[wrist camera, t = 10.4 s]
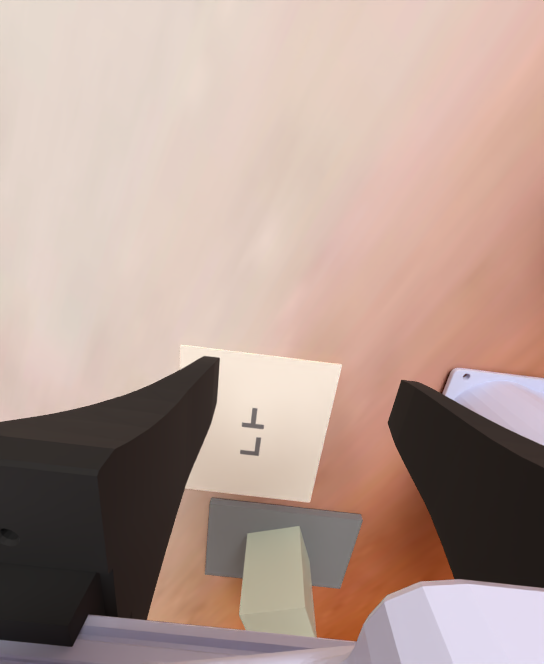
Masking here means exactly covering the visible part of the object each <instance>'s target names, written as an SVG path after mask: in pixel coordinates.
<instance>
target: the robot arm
mask: <svg viewBox="0 0 544 664" xmlns="http://www.w3.org/2000/svg"><path fill="white" fill-rule="evenodd" d="M219 365H220V358H218V357H210V356H203V357H201V358H199V359H197V360H196V361H194V362H192V363H191V364H189V365H187V366H186V367H184V368H182V369H180V370H179V371H177V372H175V373H173V374H171V375H169V376H167V377H165V378H163V379H161V380H159V381H157V382H155V383H153V384H151V385H149V386H147V387H144V388H142V389H139V390H137V391H134V392H132V393H129V394H126V395H123V396H120V397H117V398H114V399H110V400H107V401H104V402H100V403H97V404H94V405H90V406H86V407H82V408H77V409H73V410H68V411H64V412H59V413H54V414H49V415H43V416H37V417H30V418H24V419H17V420H10V421H4V422H0V664H544V378H538V377H530V376H522V375H514V374H506V373H498V372H490V371H482V370H474V369H466V368H455V369H453V370H452V371H451V373H450V375H449V378H448V380H447V383H446V385H445V388H444V391H443V393H442V394H441V393H439V392H438V391H436V390H434V389H432V388H430V387H428V386H426V385H424V384H421V383H419V382H415V381H406V380H401V383H400V386H399V389H398V392H397V396H396V399H395V402H394V405H393V408H392V411H391V414H390V417H389V421H388V425H389V428H390V431H391V434H392V437H393V440H394V443H395V446H396V448H397V450H398V452H399V454H400V456H401V458H402V460H403V462H404V464H405V466H406V468H407V469H408V471H409V473H410V475H411V477H412V479H413V481H414V483H415V485H416V487H417V489H418V491H419V493H420V495H421V496H422V498H423V500H424V502H425V505H426V507H427V509H428V511H429V513H430V515H431V518H432V520H433V523H434V525H435V528H436V530H437V533H438V535H439V538H440V540H441V543H442V546H443V548H444V551H445V554H446V557H447V559H448V562H449V565H450V568H451V570H452V573H453V576H454V578H455V579H454V580H438V581H421V582H418V583H416V584H413V585H411V586H408V587H406V588H403V589H401V590H398V591H396V592H394V593H391V594H389V595H387V596H386V597H385V598H384V599H383V600H382V601H381V602H380V603H379V605H378V606H377V607H376V608H375V609H374V610H373V611H372V612H371V613H370V615H369V616H368V618H367V619H366V621H365V623H364V624H363V627H362V629H361V632H360V634H359V637H358V639H357V642H356V641H346V640H336V639H327V638H317V637H307V636H297V635H287V634H277V633H267V632H257V631H248V630H238V629H228V628H218V627H208V626H198V625H188V624H179V623H169V622H159V621H149V620H147V616H148V613H149V609H150V605H151V602H152V598H153V594H154V591H155V587H156V584H157V580H158V577H159V573H160V570H161V566H162V563H163V559H164V555H165V552H166V548H167V545H168V542H169V538H170V535H171V532H172V528H173V525H174V522H175V518H176V515H177V512H178V508H179V505H180V502H181V499H182V496H183V492H184V489H185V486H186V483H187V481H188V478H189V475H190V473H191V471H192V468H193V466H194V463H195V461H196V459H197V456H198V454H199V452H200V449H201V447H202V445H203V442H204V440H205V437H206V435H207V433H208V430H209V428H210V425H211V422H212V419H213V415H214V412H215V408H216V404H217V395H218V380H219ZM465 374H467V375H466V376H465V377H463V376H464V375H465Z"/></svg>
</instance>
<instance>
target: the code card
mask: <svg viewBox="0 0 544 664" xmlns="http://www.w3.org/2000/svg"><path fill="white" fill-rule="evenodd" d="M203 356H210V357H218V358H220V365H219V380H218V395H217V404H216V408H215V412H214V415H213V419H212V422H211V425H210V428H209V430H208V433H207V435H206V437H205V440H204V442H203V445H202V447H201V449H200V452H199V454H198V456H197V459H196V461H195V463H194V466H193V468H192V471H191V473H190V475H189V478H188V481H187V483H186V486H185V489H193V490H201V491H210V492H219V493H228V494H237V495H246V496H255V497H264V498H273V499H282V500H291V501H300V502H309V503H310V500H311V496H312V491H313V487H314V483H315V479H316V474H317V470H318V466H319V461H320V457H321V453H322V449H323V444H324V440H325V436H326V432H327V427H328V423H329V419H330V414H331V410H332V406H333V402H334V397H335V393H336V389H337V385H338V380H339V376H340V372H341V367H342V365H341V364H335V363H327V362H319V361H311V360H302V359H294V358H286V357H278V356H270V355H262V354H254V353H245V352H237V351H229V350H221V349H213V348H205V347H197V346H189V345H180V369H182V368H184V367H186V366H187V365H189V364H191V363H192V362H194V361H196V360H197V359H199V358H201V357H203Z"/></svg>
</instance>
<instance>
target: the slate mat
mask: <svg viewBox="0 0 544 664" xmlns="http://www.w3.org/2000/svg"><path fill="white" fill-rule="evenodd" d="M362 521H363V520H362V517H361V514H353V513H344V512H335V511H326V510H317V509H308V508H299V507H290V506H281V505H272V504H263V503H254V502H245V501H236V500H227V499H218V498H211V501H210V507H209V522H208V537H207V552H206V567H205V574H206V575H215V576H225V577H234V578H243V571H244V562H245V552H246V542H247V533H254V532H261V531H268V530H275V529H282V528H288V527H295V526H300V530H301V533H302V537H303V540H304V544H305V547H306V551H307V554H308V558H309V561H310V572H311V583H312V586H319V587H329V588H338V589H340V587H341V584H342V581H343V578H344V575H345V572H346V569H347V566H348V563H349V560H350V557H351V554H352V551H353V548H354V545H355V542H356V539H357V536H358V533H359V530H360V527H361V524H362Z"/></svg>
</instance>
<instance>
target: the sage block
mask: <svg viewBox="0 0 544 664" xmlns="http://www.w3.org/2000/svg"><path fill="white" fill-rule="evenodd" d="M239 616H240V618H241V620H242V623H243V625H244V627H245V629H246V630H248V631H257V632H267V633H277V634H287V635H297V636H307V637H317V636H316V626H315V615H314V604H313V594H312V583H311V572H310V561H309V558H308V554H307V551H306V547H305V544H304V540H303V537H302V533H301V530H300V526H295V527H288V528H282V529H275V530H268V531H261V532H254V533H247V542H246V552H245V562H244V571H243V581H242V591H241V601H240V610H239Z"/></svg>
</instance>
